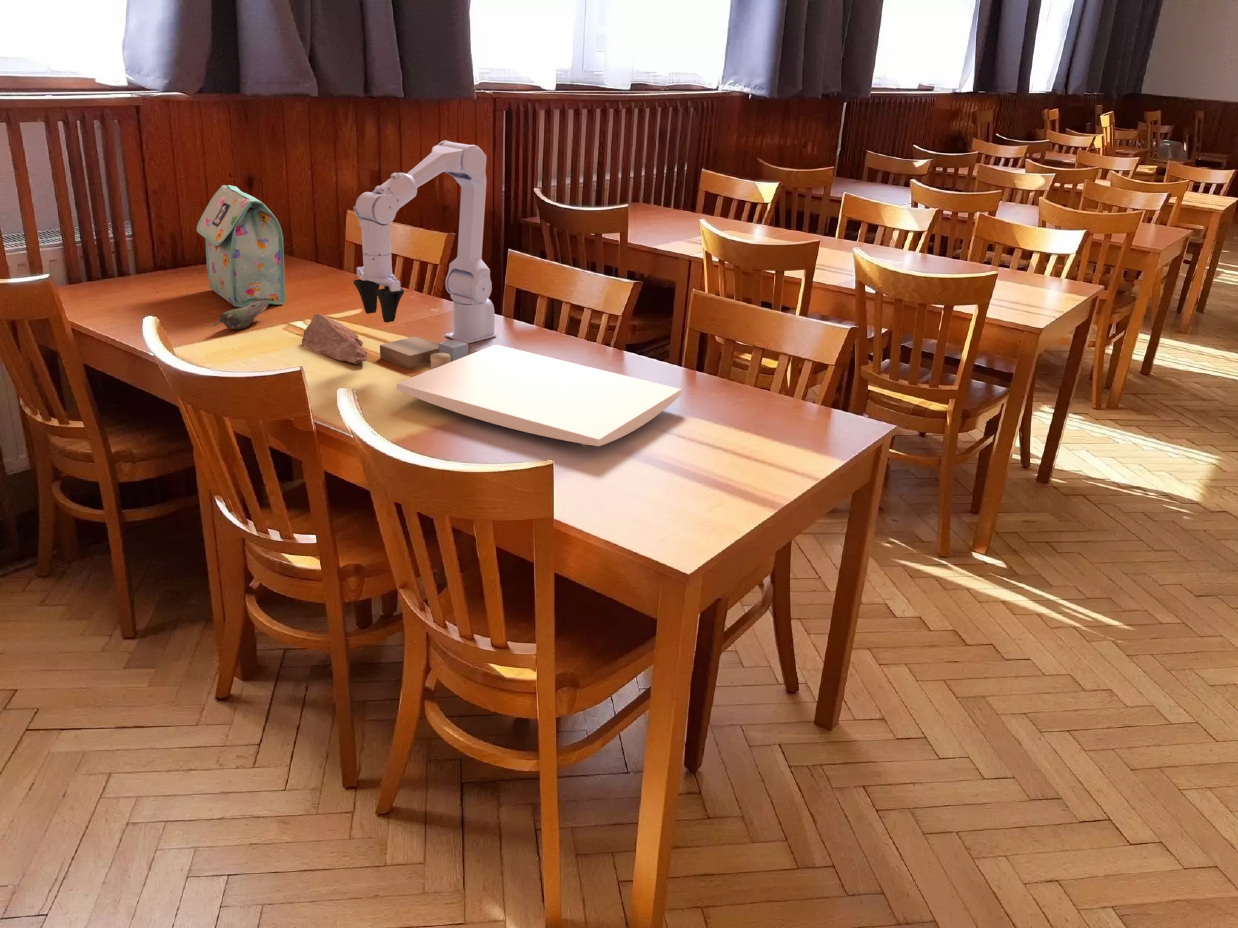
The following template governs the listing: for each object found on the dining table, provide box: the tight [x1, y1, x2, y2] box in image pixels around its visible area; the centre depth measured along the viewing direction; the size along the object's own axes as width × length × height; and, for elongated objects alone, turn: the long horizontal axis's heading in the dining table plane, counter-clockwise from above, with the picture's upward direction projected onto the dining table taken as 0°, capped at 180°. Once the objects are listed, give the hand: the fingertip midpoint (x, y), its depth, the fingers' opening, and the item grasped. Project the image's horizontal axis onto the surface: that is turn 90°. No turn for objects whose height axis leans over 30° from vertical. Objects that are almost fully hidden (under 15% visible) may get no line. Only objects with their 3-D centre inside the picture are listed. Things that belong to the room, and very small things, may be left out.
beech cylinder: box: [430, 353, 450, 370], centre depth 203 cm, size 4×4×5 cm
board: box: [395, 344, 682, 447], centre depth 191 cm, size 45×32×5 cm
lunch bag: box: [196, 184, 286, 308], centre depth 245 cm, size 23×16×27 cm
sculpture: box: [210, 298, 270, 330], centre depth 226 cm, size 5×19×5 cm, turn 158°
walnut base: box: [379, 335, 439, 370], centre depth 213 cm, size 10×10×3 cm
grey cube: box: [438, 339, 469, 362], centre depth 213 cm, size 4×4×4 cm
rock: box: [301, 313, 368, 365], centre depth 216 cm, size 10×24×10 cm
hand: (379, 317), depth 207 cm, fingers open, 7 cm apart
